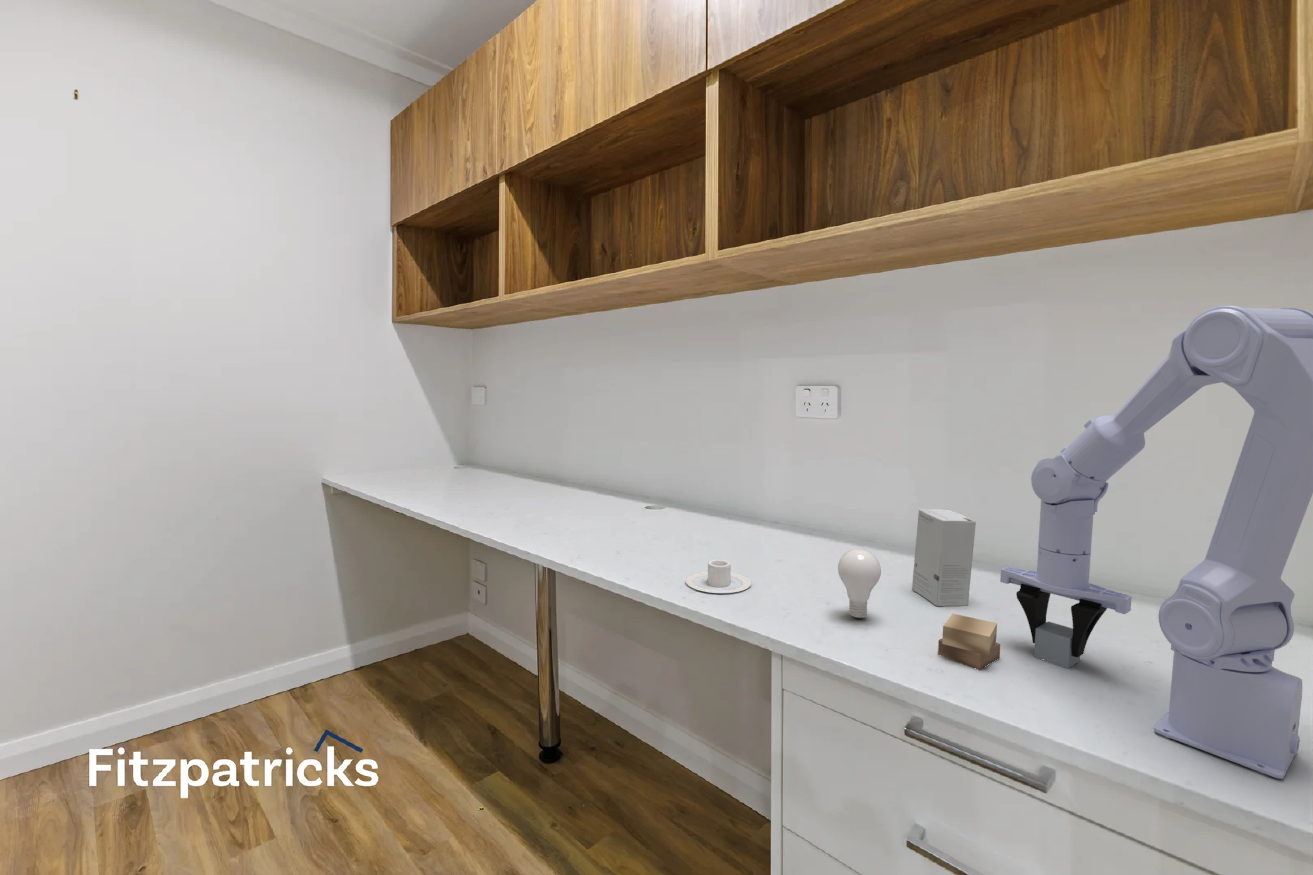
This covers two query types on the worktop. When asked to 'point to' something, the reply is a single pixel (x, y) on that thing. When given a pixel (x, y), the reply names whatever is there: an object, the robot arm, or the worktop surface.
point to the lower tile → (969, 655)
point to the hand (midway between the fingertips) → (1057, 648)
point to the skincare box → (943, 557)
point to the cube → (1054, 644)
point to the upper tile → (970, 634)
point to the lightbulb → (859, 579)
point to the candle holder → (719, 577)
